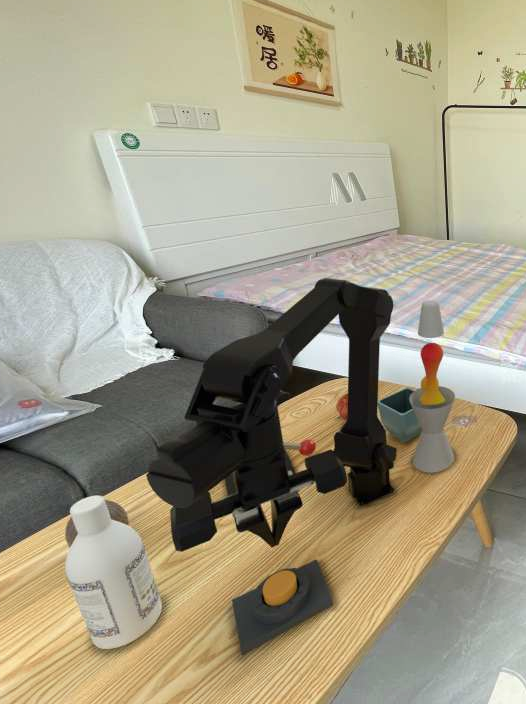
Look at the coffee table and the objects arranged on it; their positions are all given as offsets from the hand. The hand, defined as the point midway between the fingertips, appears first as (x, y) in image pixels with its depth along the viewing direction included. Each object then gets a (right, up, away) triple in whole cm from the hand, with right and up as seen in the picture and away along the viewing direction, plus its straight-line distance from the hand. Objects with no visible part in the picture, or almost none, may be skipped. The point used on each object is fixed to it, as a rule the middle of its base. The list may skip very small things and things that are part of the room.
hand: (274, 544), depth 58 cm
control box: (0, -10, +3) cm, 10 cm away
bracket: (-18, -1, +26) cm, 32 cm away
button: (0, -8, +2) cm, 8 cm away
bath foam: (-19, -10, -1) cm, 21 cm away
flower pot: (+7, +3, +41) cm, 42 cm away
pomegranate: (-7, +5, +45) cm, 46 cm away
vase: (-33, -6, +10) cm, 35 cm away
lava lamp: (+14, 0, +34) cm, 37 cm away
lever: (-15, +3, +27) cm, 31 cm away
